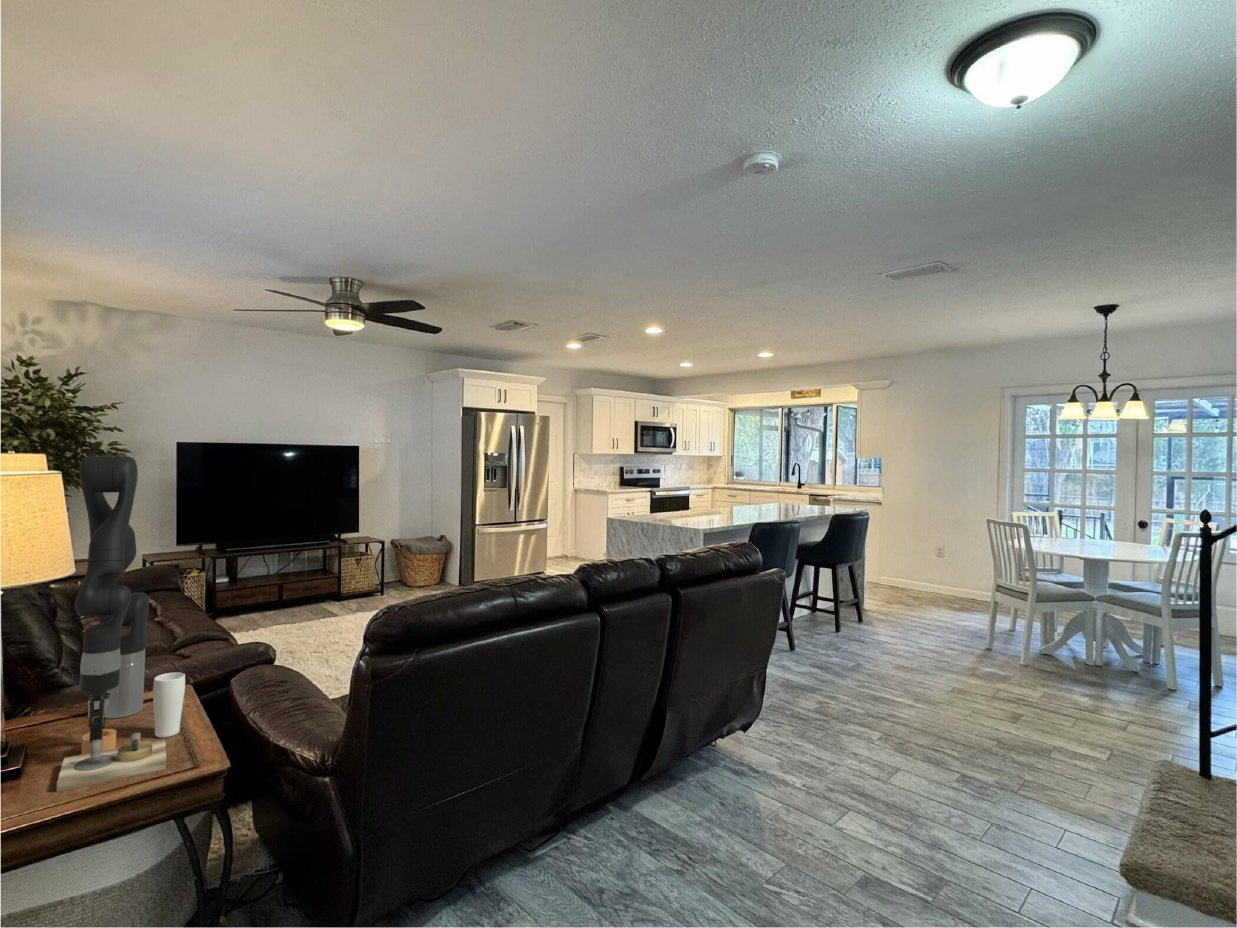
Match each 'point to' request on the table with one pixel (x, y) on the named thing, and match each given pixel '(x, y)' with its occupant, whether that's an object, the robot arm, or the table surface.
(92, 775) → the gear board
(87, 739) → the gear
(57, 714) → the table surface
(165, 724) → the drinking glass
